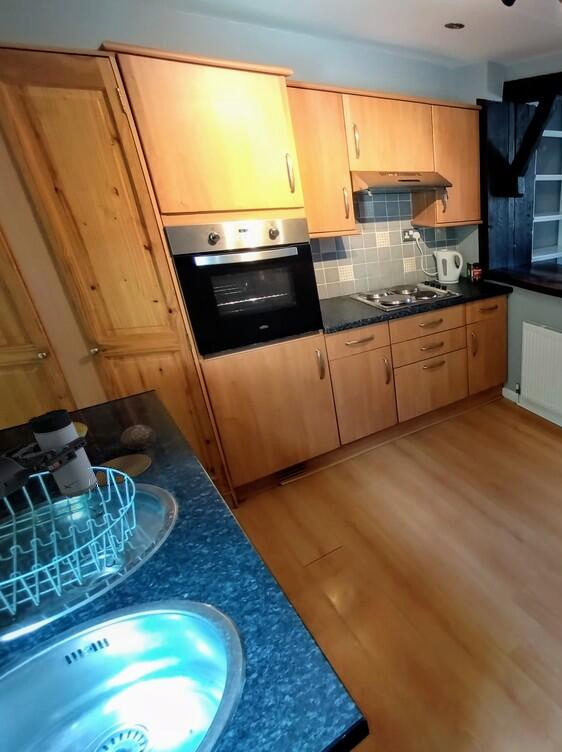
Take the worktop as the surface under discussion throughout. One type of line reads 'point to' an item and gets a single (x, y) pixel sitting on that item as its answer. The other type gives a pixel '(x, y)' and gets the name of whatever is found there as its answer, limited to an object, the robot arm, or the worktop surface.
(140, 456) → the cork coaster
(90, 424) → the worktop surface
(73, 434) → the travel mug
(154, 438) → the mushroom
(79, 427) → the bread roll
